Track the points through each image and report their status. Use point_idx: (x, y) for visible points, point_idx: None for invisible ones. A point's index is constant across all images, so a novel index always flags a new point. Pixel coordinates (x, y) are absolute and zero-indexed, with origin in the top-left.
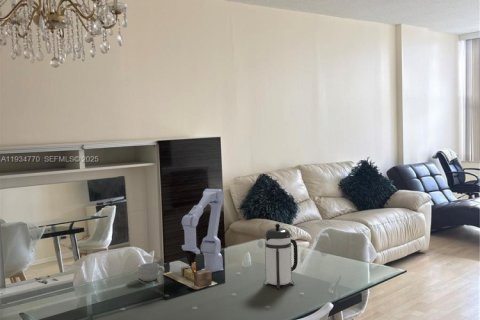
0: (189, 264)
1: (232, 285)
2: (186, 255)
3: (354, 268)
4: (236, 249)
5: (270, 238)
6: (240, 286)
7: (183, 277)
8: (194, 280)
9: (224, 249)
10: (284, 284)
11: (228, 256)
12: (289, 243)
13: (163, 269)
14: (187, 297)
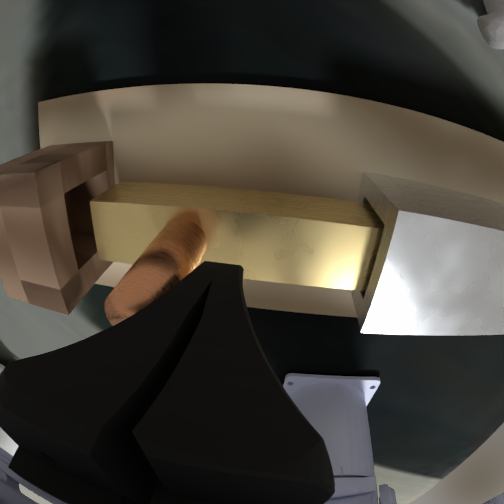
0: (206, 269)
1: (38, 306)
2: (203, 387)
3: None
4: (404, 492)
5: None
6: (20, 314)
7: (359, 194)
8: (81, 149)
9: (438, 479)
10: None
11: (388, 476)
12: None
13: (495, 20)
14: (5, 22)
